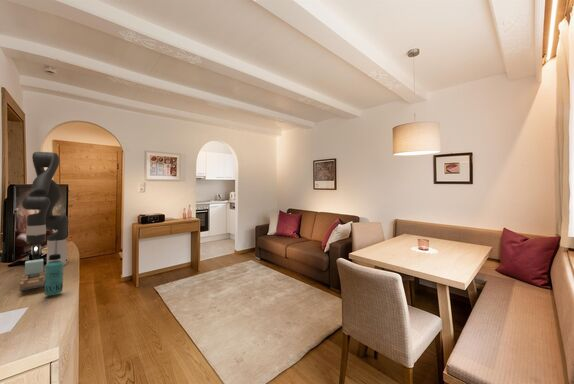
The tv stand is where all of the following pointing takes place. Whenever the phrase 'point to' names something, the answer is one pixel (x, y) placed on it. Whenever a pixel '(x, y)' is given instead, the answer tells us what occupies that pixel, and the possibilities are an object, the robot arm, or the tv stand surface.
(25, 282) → the beam
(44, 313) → the tv stand surface
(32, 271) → the grey rectangular block
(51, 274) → the beverage bottle
